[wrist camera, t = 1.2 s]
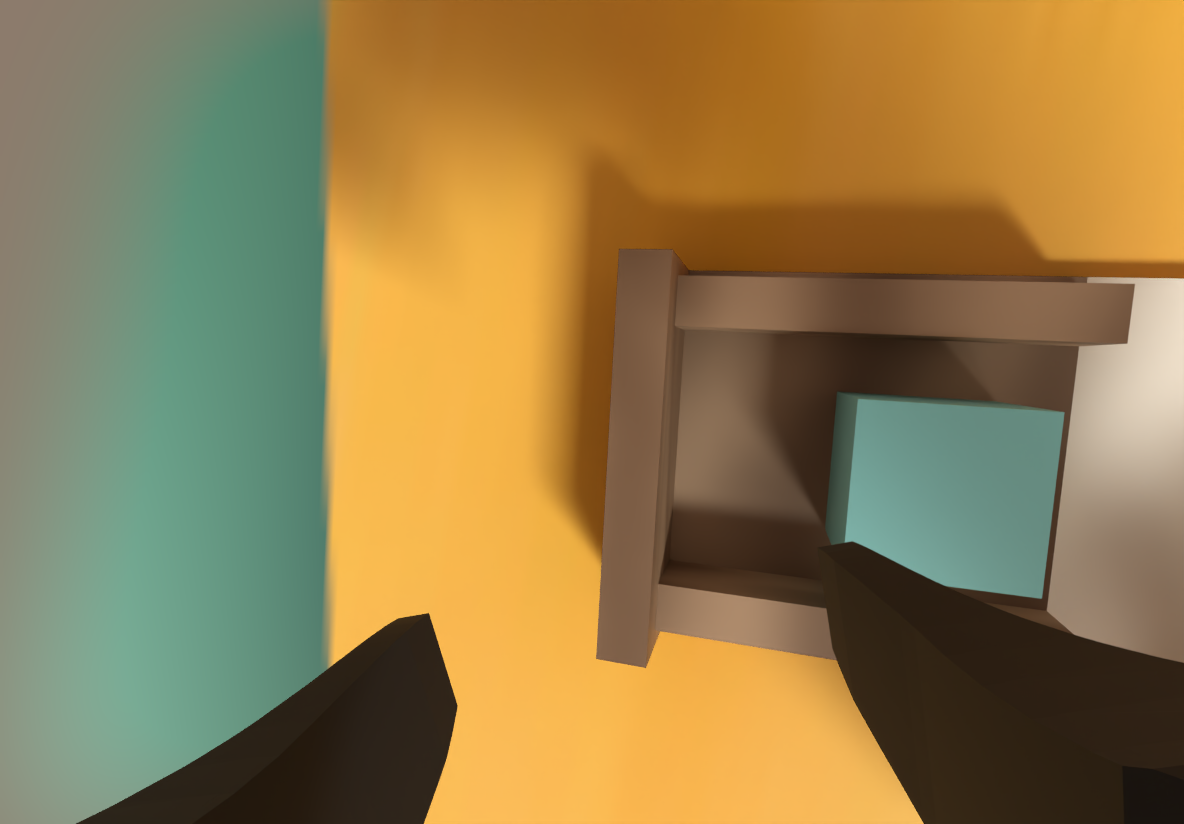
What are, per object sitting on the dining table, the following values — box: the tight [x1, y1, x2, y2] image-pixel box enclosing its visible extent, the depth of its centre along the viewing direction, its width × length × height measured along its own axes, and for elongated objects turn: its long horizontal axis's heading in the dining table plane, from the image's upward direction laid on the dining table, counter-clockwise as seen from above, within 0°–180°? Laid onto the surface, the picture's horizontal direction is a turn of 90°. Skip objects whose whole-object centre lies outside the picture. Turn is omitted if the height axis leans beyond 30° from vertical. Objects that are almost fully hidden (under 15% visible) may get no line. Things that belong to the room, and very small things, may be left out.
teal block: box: [825, 392, 1065, 599], centre depth 18 cm, size 4×4×4 cm
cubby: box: [596, 249, 1184, 668], centre depth 18 cm, size 22×12×5 cm, turn 87°
